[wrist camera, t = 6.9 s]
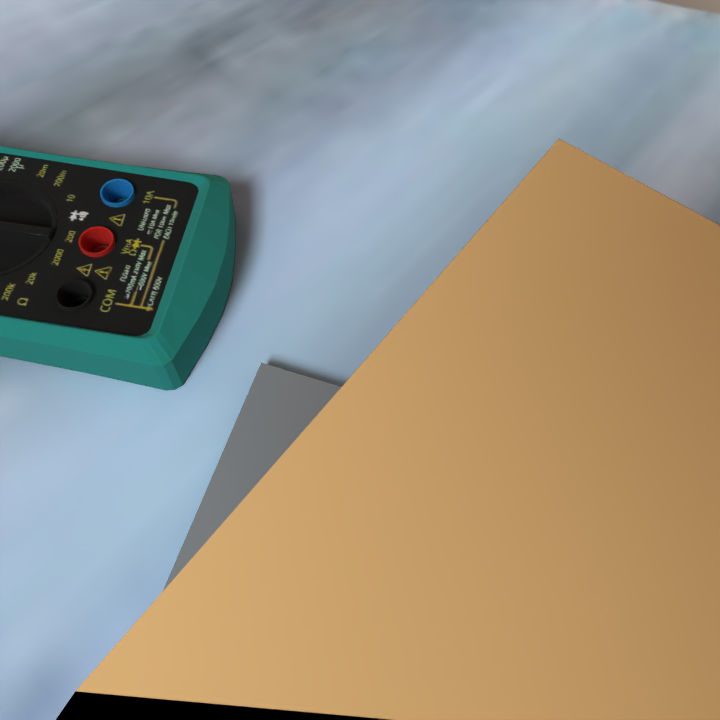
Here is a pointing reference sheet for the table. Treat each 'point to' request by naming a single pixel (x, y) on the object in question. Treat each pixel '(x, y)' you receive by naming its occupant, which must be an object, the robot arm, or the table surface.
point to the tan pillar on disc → (481, 498)
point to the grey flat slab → (255, 447)
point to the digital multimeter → (112, 265)
